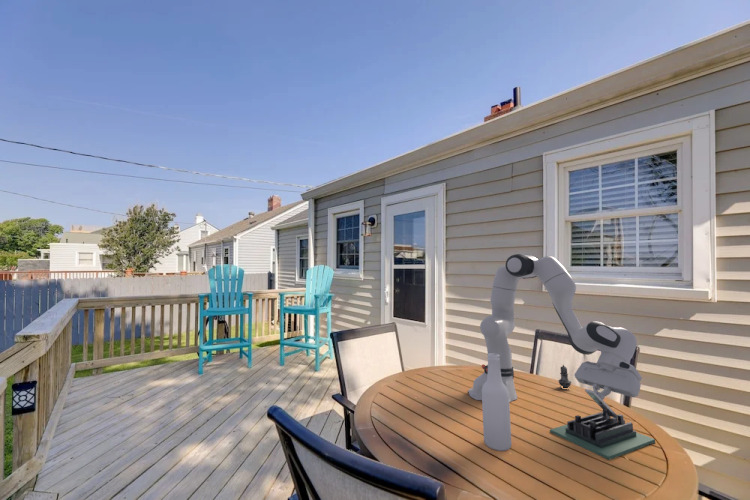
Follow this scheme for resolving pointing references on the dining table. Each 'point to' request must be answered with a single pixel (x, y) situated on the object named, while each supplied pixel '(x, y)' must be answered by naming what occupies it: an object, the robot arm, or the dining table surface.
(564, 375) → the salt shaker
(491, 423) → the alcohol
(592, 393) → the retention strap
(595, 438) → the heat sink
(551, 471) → the dining table surface
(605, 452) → the circuit board
